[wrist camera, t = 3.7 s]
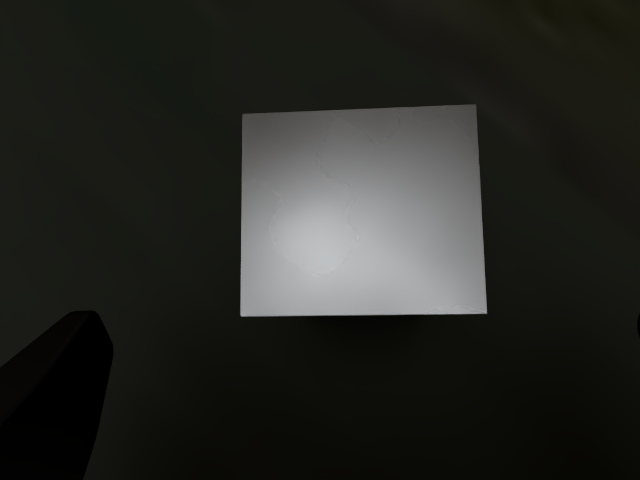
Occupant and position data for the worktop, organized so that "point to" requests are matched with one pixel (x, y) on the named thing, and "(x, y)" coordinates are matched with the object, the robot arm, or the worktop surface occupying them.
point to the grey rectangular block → (362, 213)
